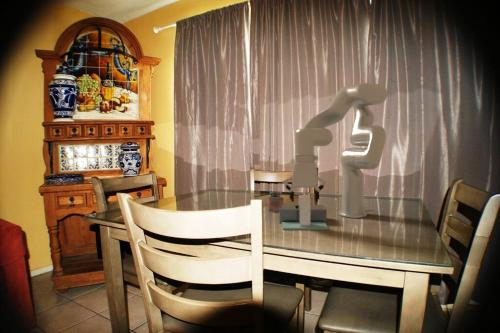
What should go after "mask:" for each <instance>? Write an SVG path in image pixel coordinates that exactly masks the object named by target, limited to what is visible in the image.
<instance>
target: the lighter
mask: <svg viewBox="0 0 500 333" xmlns="http://www.w3.org/2000/svg"><path fill="white" fill-rule="evenodd" d="M269 194H270V195H269V196H267V197H268V198H267V199H268V210H267V211H268V212H270V213H278V214H279V205H284V196H283V192H279V191H270V193H269Z"/></svg>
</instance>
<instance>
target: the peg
mask: <svg viewBox="0 0 500 333" xmlns="http://www.w3.org/2000/svg"><path fill="white" fill-rule="evenodd" d="M298 205H299V225H300V226H308V227H310V205H311V196H310V195H307V194H305V195H304V194H302V195H301V194H299V195H298Z"/></svg>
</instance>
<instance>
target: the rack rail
mask: <svg viewBox="0 0 500 333" xmlns="http://www.w3.org/2000/svg"><path fill="white" fill-rule="evenodd" d="M327 213H328V212H327V208H326V206H324V204H310V222H325V224H327V215H328V214H327ZM282 222H299V204H283V205H279V213H278V223H279V224H282Z"/></svg>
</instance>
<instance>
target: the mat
mask: <svg viewBox="0 0 500 333" xmlns="http://www.w3.org/2000/svg"><path fill="white" fill-rule="evenodd" d="M281 227H282V230H284V231H286V230H287V231H329V227H328V225H327V223H325V222H310V227H308V226H300V225H299V222H282V223H281Z"/></svg>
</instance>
